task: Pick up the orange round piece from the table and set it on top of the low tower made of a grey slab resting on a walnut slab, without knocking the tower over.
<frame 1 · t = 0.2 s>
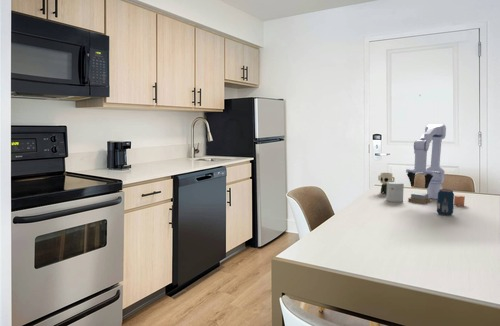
hand: (419, 187, 194), 10 cm above the table, tool pointing down, fingers open, 7 cm apart
walnut base slab: (419, 202, 204), on the table, touching grey top slab
grey top slab: (419, 198, 204), point 2 cm above the table, touching walnut base slab
small box: (394, 201, 206), on the table
big headed toy figurine: (385, 193, 227), on the table
soda can: (444, 214, 174), on the table
orange round piece: (459, 205, 194), on the table
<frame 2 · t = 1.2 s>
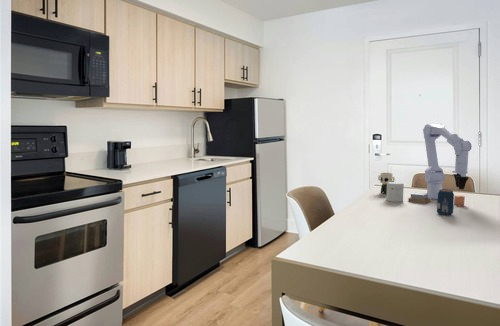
hand: (460, 188, 193), 9 cm above the table, tool pointing down, fingers open, 7 cm apart
nothing on the table moved.
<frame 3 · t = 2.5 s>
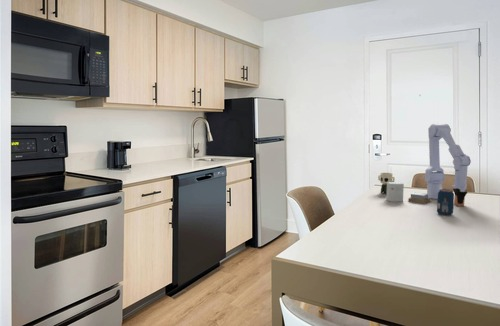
hand: (459, 202, 194), 1 cm above the table, tool pointing down, fingers closed on orange round piece, 5 cm apart
orange round piece: (459, 205, 194), on the table, touching gripper
everything else where it was.
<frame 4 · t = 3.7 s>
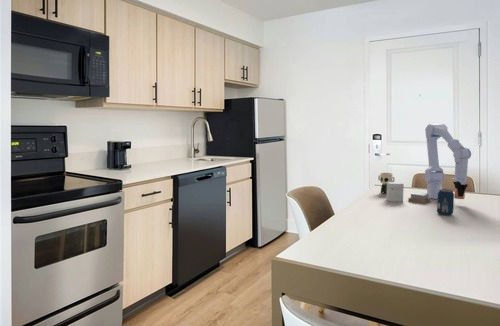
hand: (459, 195, 193), 5 cm above the table, tool pointing down, fingers closed on orange round piece, 5 cm apart
orange round piece: (459, 198, 194), point 4 cm above the table, touching gripper
everything else where it was.
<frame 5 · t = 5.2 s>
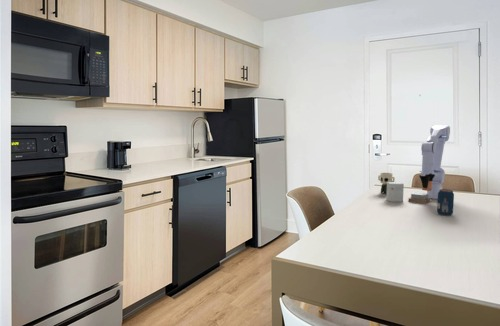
hand: (426, 187, 201), 8 cm above the table, tool pointing down, fingers closed on orange round piece, 5 cm apart
orange round piece: (426, 189, 201), point 7 cm above the table, touching gripper
everything else where it was.
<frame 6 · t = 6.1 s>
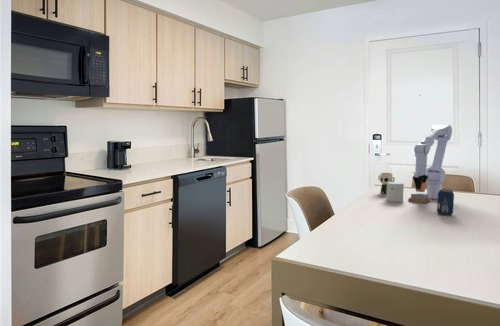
hand: (420, 188, 203), 7 cm above the table, tool pointing down, fingers closed on orange round piece, 5 cm apart
orange round piece: (420, 191, 203), point 6 cm above the table, touching gripper
everything else where it was.
when the fingers open (7 cm above the table, at t = 6.3 s): orange round piece drops 1 cm, resting on grey top slab.
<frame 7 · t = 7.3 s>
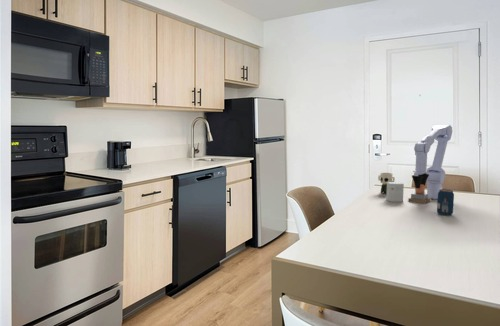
hand: (420, 187, 203), 8 cm above the table, tool pointing down, fingers open, 7 cm apart
grey top slab: (419, 198, 204), point 2 cm above the table, touching orange round piece, walnut base slab
orange round piece: (420, 193, 204), point 5 cm above the table, tilted 5°, touching grey top slab
everything else where it was.
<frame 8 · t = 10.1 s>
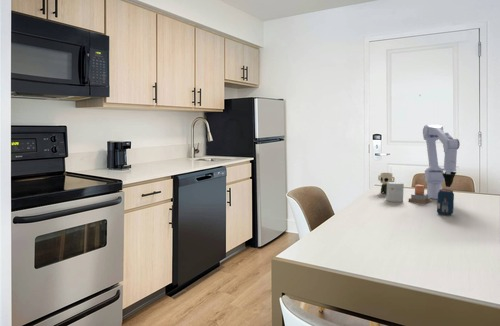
hand: (448, 185, 195), 10 cm above the table, tool pointing down, fingers open, 7 cm apart
at the end: orange round piece 0.3 cm off-centre on the grey top slab, point 2.6 cm above the grey top slab's base; grey top slab 0.4 cm off-centre on the walnut base slab, point 2.5 cm above the walnut base slab's base; orange round piece tilted 1° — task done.
